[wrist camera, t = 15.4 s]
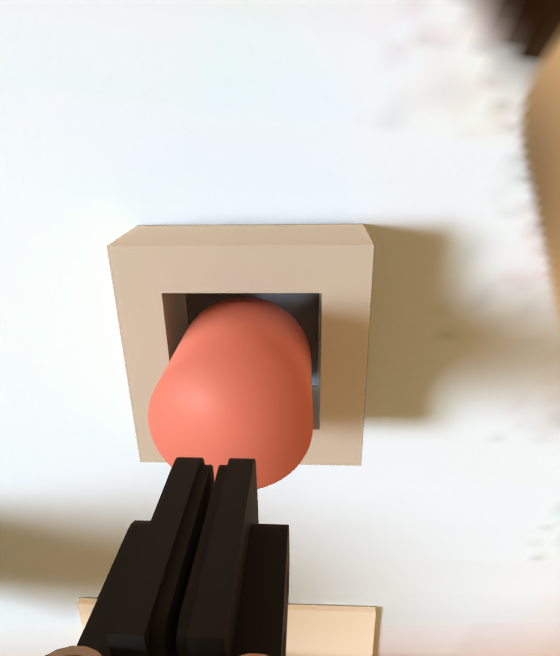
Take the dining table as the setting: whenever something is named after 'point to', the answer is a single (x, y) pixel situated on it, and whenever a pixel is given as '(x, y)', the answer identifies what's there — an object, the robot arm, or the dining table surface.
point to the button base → (250, 277)
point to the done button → (237, 390)
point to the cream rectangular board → (312, 629)
